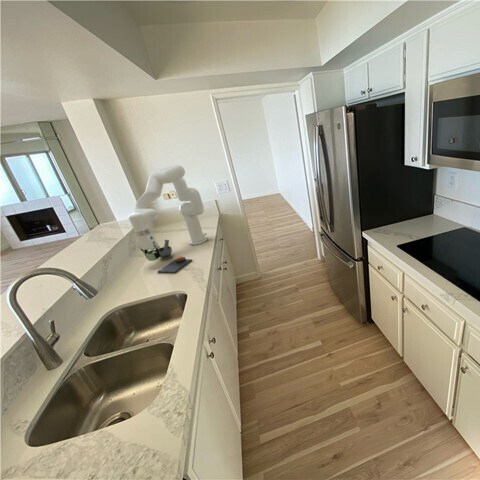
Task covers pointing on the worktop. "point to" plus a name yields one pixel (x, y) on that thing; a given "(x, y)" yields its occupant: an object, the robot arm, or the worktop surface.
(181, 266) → the scale
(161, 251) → the mortar and pestle
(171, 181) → the robot arm
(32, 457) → the worktop surface
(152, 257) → the bowl
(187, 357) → the worktop surface
